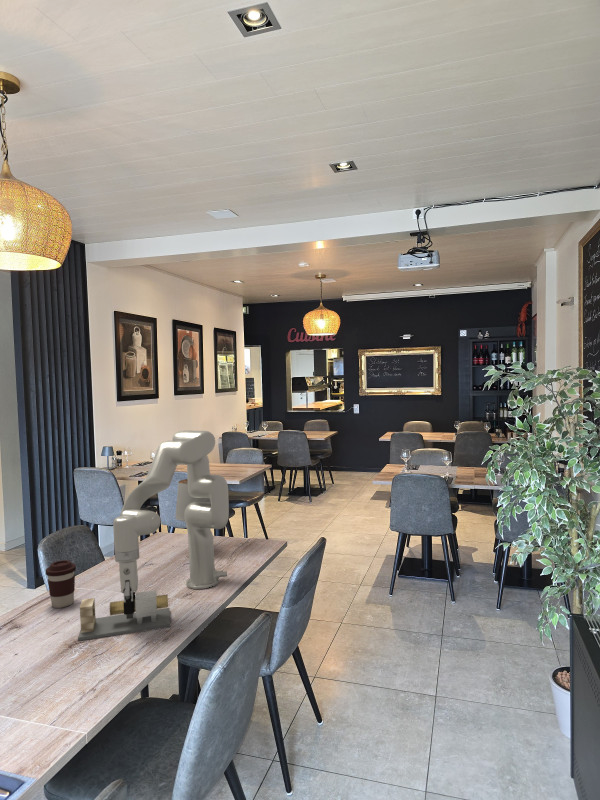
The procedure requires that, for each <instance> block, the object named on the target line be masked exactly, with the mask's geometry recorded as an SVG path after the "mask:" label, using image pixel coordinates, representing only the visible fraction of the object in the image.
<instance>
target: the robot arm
mask: <svg viewBox="0 0 600 800" xmlns="http://www.w3.org/2000/svg"><path fill="white" fill-rule="evenodd" d="M215 447H216V437H215V435H214V434H213V433H212V432H210V431H208V430H180V431H177V432H175V433H174V434H173V435H172V440H166V441H163V442H161V443H160V444H159V445H158V447H157V449H156V452H155V455H154V457H153V459H152V463H151V465H150V468H149V470H148V472H147V475H146V478H145V479H144V480H142V481H141V482H140V483H139V484H138V485H137V486H136V487H135V488H134V489H133V490H132V491H131V492H130V493H129V494H128V495H127V498H126V499H125V501H124V502H123V503H124V504H123V506H122V509H121V511H120V514H119V516H117V517H115V518H114V520H113V522H112V523H113V524H112V531H113V544H114V545H113V547H114V561H115V562H116V563H118V568H119V569H118V571H119V582H120V583H119V584H120V591H121V593H122V594H123V600H124V602H123V604H124V614H125V615H126V614H133V613H136V612H135V609H134V600H133V599H135V596H136V593H137V592H138V588H139V573H138V562H137V560H139V559H140V544H139V538H140V536H145V535H150V534H153V533H155V532H157V530H158V529H160V526H161V523H162V520H161V516H160V515H159V514H158V513H157V512H156V511H152V510H145V509H144V510H143V509H141V507H142V506H143V504H144V503H145V502H146V501H147V500H148V499H150V498H151V497H153V496H154V495H156V494H159V493H162V492H163V491H164V490H167V489H168V488H169V487H170V485H171V483H172V480H173V478H174V475H175V473H176V469H177V467H178V466H179V465H181V466H182V465H183V466H186V470H187V471H186V473H187V474H186V475H187V478H186V479H188V493H189V495H190V496H191V497H193V498H197V499H207V500H210V502H211V503H208V502H193V503H190V504H189V505H188V506H187V507H186V509H185V512H184V518H185V521H184V522H185V526H186V530H187V538H188V539H187V540H188V558H189V559H188V562H189V578H188V579H187V580H186V587H188V588H189V589H193V590H204V589H210V588H212V586H213V587H215V586H217V585H218V584H219V583H220V578H225V577H228V572H227V571H228V570H226V571H224V570H222V569H221V570H216V568H215V552H214V551H215V548H214V547H215V546H214V535H213V532H212V530H211V529H213V530H214V529H215V530H221V529H223V528H225V527H226V526H227V524H228V522H229V515H230V512H229V509H230V506H229V505H230V503H229V502H230V501H229V486H228V482H227V480H226V478H225V477H224V476H222V475H219V474H211V469H210V468H211V467H210V460H209V457H208V455H209V454H211V453H212V452H213V450H214V448H215ZM209 587H210V588H209ZM130 593H131V595H130Z"/></svg>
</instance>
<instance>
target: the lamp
mask: <svg viewBox="0 0 600 800" xmlns="http://www.w3.org/2000/svg"><path fill="white" fill-rule="evenodd" d="M193 502H208V503H211V502H210V500H207V499H197V498H193V497H191V496H190V495H189V493H188V479H187V478H184V479H181V480H178V484H177V495H176V505H175V506H176V507H175V516H174V517H175V520H177V521H181V522H185V518H184V512H185V509H186V507H187V506H188V505H189V504H190V503H193Z"/></svg>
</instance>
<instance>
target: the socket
mask: <svg viewBox="0 0 600 800" xmlns="http://www.w3.org/2000/svg"><path fill="white" fill-rule="evenodd" d="M79 617H80V618H79V619H80V630H81V633H84V632H91V631H94V627H95V623H96V618H97V616H96V602H95V598H94V597H93V598H85V599H82V600H81V602H80V606H79Z"/></svg>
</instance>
